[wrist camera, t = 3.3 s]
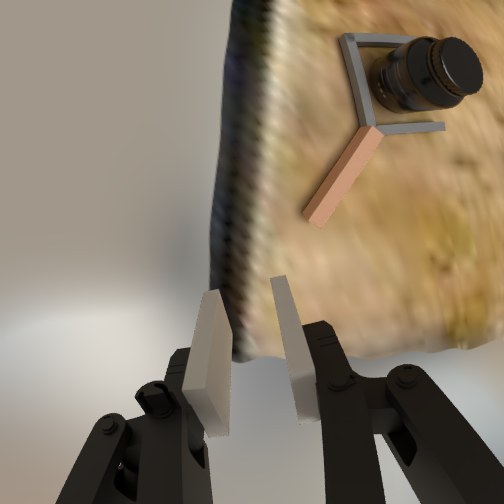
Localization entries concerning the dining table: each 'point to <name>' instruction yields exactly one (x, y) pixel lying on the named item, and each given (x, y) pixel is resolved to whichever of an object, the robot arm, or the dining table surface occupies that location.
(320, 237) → the dining table surface
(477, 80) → the supplement bottle
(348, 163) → the holder
